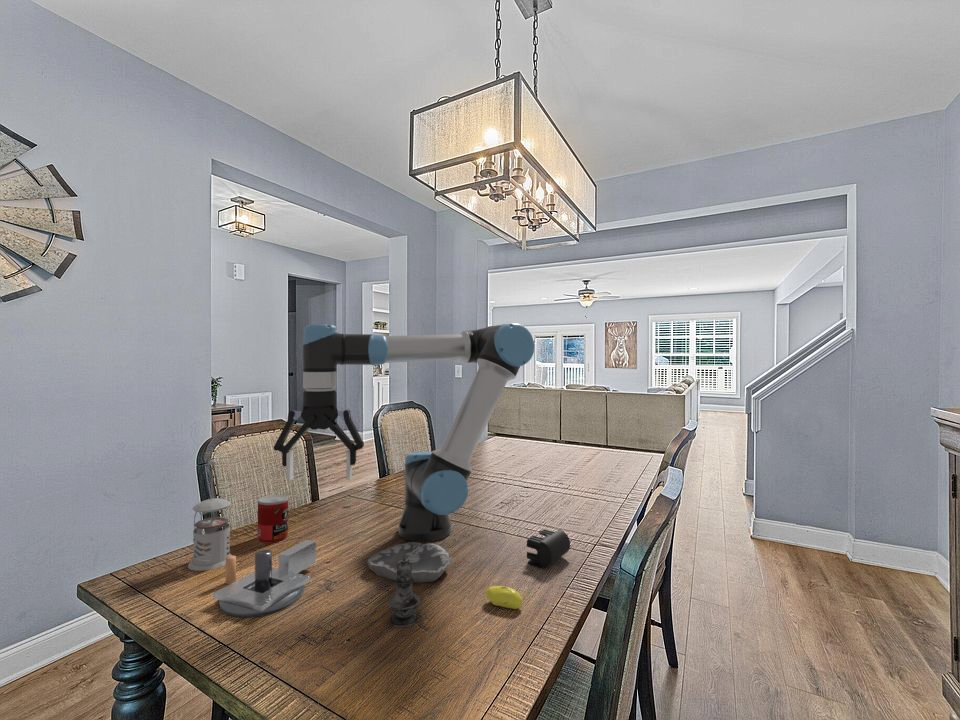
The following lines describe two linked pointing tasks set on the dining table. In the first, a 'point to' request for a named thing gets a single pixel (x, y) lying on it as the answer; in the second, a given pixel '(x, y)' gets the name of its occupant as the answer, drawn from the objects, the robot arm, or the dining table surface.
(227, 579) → the dowel
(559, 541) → the end cap
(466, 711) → the dining table surface
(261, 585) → the post base
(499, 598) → the lemon
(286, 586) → the grey plastic holder
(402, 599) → the dark grey chess piece
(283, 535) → the canned food
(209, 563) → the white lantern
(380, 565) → the brain slice
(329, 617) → the dining table surface
